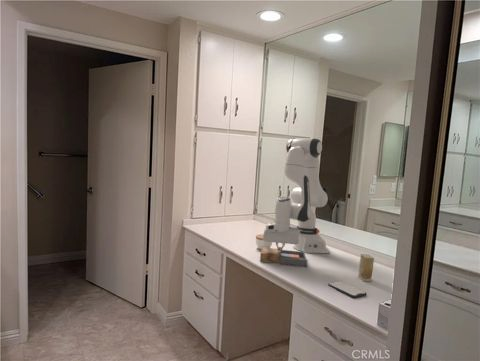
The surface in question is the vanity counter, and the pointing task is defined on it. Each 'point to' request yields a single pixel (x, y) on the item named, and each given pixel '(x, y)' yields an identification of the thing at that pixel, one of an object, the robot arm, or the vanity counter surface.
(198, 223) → the vanity counter surface
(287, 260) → the tray
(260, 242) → the lidded jar
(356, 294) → the phone case
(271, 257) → the cardboard box
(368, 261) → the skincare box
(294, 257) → the tile
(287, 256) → the tile
